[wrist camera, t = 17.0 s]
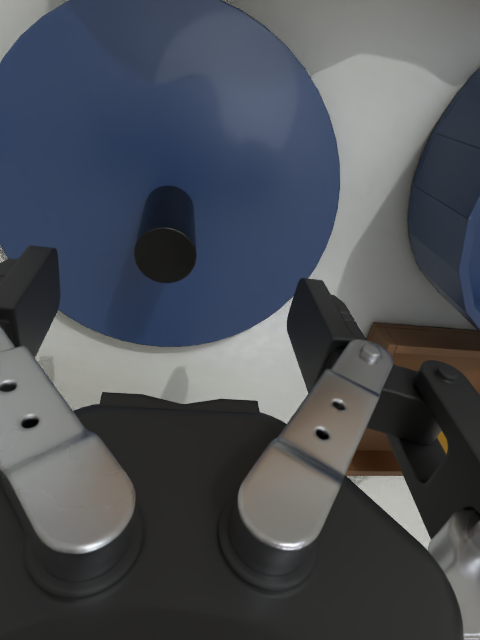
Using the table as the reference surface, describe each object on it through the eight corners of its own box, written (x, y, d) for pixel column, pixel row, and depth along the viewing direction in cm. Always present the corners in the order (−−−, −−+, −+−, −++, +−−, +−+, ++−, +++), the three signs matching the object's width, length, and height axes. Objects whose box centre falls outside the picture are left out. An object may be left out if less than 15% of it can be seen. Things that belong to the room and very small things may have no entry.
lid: (12, 327, 24) (-37, 408, 19) (-55, -63, 15) (-194, -126, 9) (291, 344, 27) (317, 418, 22) (381, 34, 18) (467, 30, 13)
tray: (320, 450, 34) (328, 476, 32) (373, 322, 27) (388, 345, 25) (447, 451, 36) (462, 476, 34) (527, 334, 29) (553, 355, 27)
